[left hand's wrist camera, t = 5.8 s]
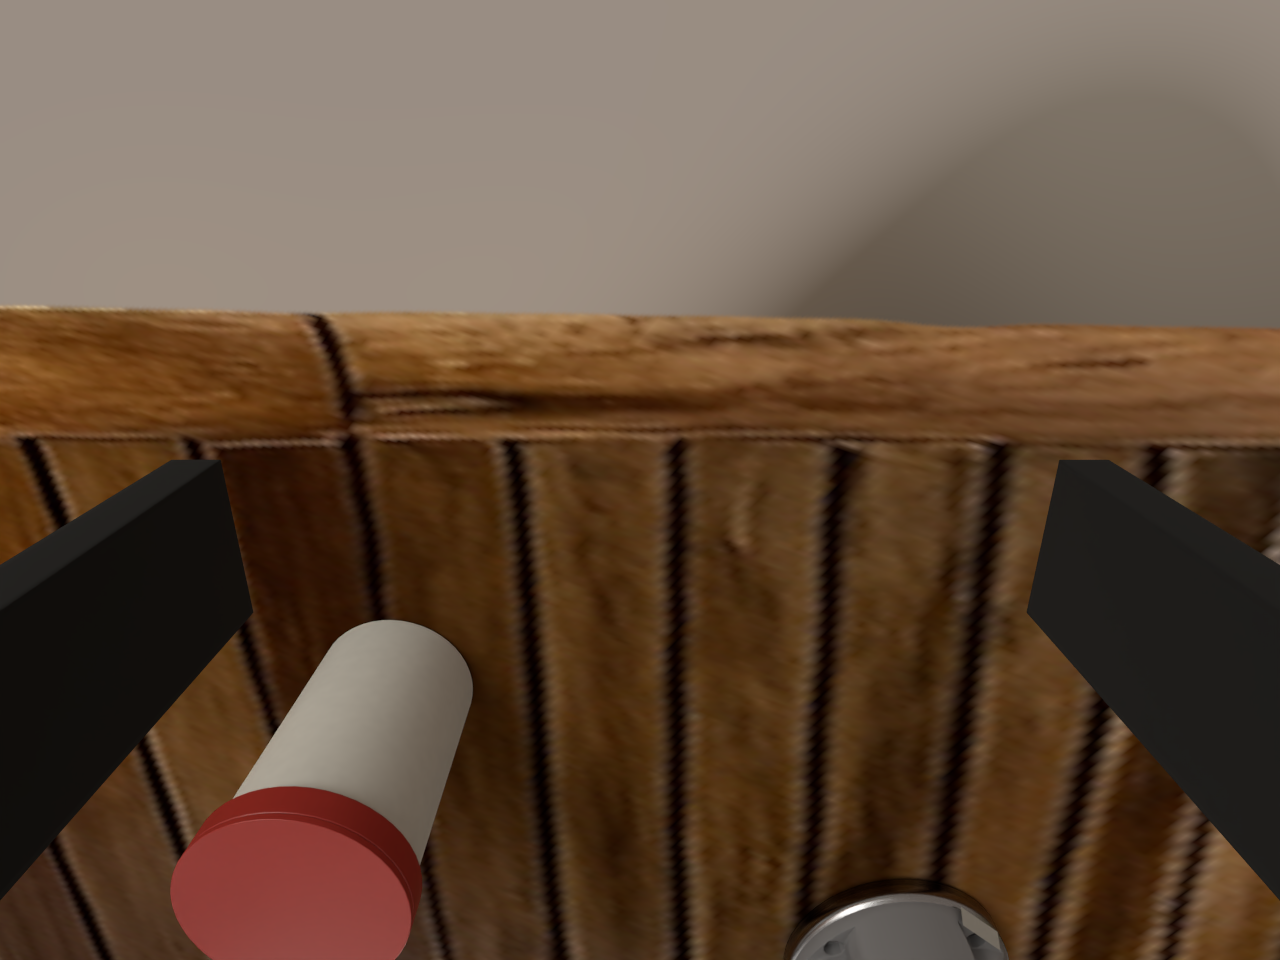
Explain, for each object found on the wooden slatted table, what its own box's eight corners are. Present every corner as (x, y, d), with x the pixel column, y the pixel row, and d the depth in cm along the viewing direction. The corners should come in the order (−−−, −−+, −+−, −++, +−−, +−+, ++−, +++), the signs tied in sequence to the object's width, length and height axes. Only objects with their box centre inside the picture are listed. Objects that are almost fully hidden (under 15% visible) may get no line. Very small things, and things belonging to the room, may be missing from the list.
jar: (495, 652, 46) (432, 862, 32) (443, 761, 49) (366, 996, 35) (347, 597, 44) (215, 791, 30) (304, 712, 47) (167, 937, 33)
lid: (454, 831, 33) (444, 867, 31) (382, 976, 36) (370, 1015, 35) (224, 753, 31) (200, 787, 30) (171, 912, 35) (147, 950, 33)
